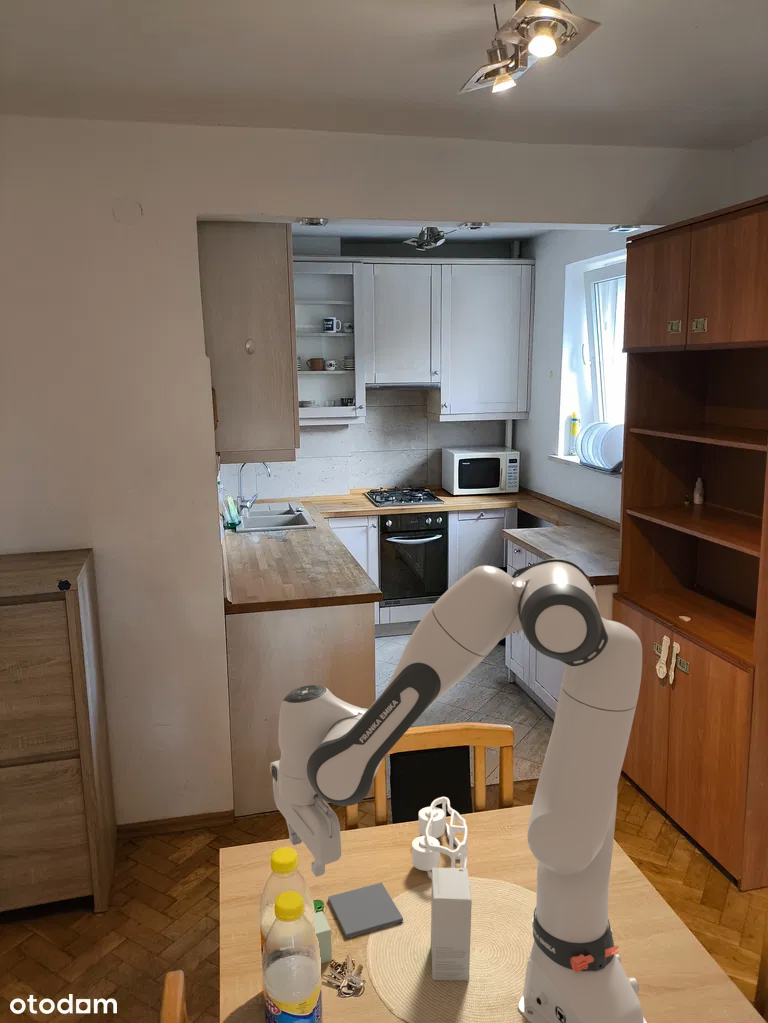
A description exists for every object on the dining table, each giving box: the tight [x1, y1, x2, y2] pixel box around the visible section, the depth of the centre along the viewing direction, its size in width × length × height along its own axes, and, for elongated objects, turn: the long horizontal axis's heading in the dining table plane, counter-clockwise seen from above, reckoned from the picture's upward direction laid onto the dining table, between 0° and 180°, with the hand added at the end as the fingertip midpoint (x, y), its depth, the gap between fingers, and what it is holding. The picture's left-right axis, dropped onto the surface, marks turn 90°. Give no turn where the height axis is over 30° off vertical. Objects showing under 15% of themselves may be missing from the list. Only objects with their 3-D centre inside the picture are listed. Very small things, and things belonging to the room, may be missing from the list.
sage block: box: [312, 910, 333, 964], centre depth 132 cm, size 5×5×6 cm
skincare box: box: [430, 867, 473, 981], centre depth 129 cm, size 8×7×16 cm
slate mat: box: [327, 882, 404, 939], centre depth 143 cm, size 11×11×1 cm
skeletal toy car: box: [411, 796, 469, 880], centre depth 160 cm, size 20×11×7 cm, turn 170°
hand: (306, 857), depth 128 cm, fingers open, 8 cm apart
